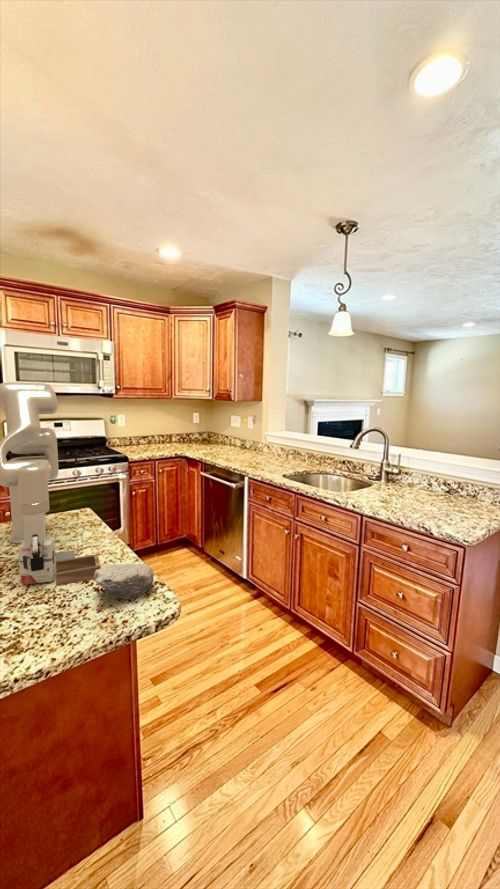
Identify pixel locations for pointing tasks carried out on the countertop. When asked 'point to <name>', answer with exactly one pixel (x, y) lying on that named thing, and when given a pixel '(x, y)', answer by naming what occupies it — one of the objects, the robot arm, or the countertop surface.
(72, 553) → the mat
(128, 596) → the rock
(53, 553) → the ink box
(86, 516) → the countertop surface
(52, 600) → the countertop surface
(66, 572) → the cradle
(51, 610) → the countertop surface
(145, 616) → the countertop surface
